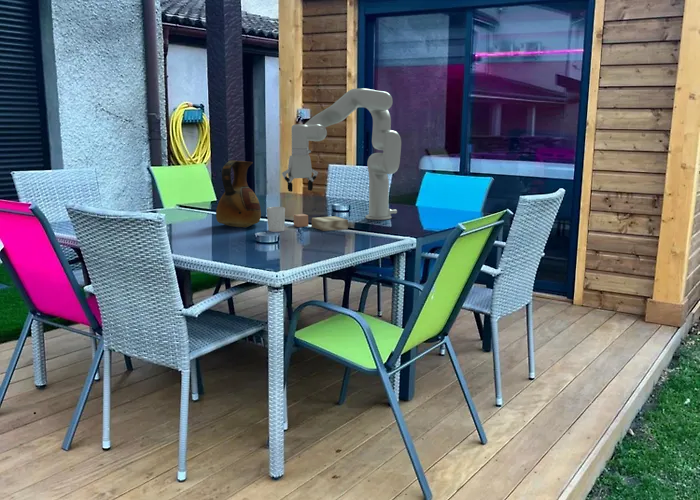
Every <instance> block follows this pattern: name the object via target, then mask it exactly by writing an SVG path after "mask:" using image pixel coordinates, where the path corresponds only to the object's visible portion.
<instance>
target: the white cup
mask: <svg viewBox="0 0 700 500" xmlns="http://www.w3.org/2000/svg"><path fill="white" fill-rule="evenodd" d="M266 214H267V215H266V216H267V218H266V219H267V225H268V226H267V229H268V232H273V233H275V232H276V233H278V232H284V231H285V222H286V221H285V220H286V207H283V206H269V207H267V208H266Z"/></svg>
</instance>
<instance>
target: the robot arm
mask: <svg viewBox="0 0 700 500" xmlns="http://www.w3.org/2000/svg"><path fill="white" fill-rule="evenodd" d="M393 100H394V99H393V97H392V95H391V94H390V93H389V92H387V91H383V90H375V89H370V88H364V87H363V88H351V89H349V90H348V91H347V92H345V93H344V94H343V95H342V96H341V97H339V99H337V100H336V101H334V103H332V105H330V106H329V107H327V108H325V109H323V110H322V111H320V112H319V113H317V114H315V115H314V116H313V117H311V118H310V119H309V120H307V121H306V122H305V123H304V124H300V123H299V124H292V126H291V155H289V157H288V158H289V159H288V164H287V169H286V170H284V171H283V172H281V176H282V177H283V180H284V181H285V182H287V190H288V192H289V193H292V192H293V187H294V186H293V185H294V184H293V181H294V179H307V180H308V181H307V190H308V191H310V192H311V191H313V187H314V181H315V180H316V178H317V177H318V174H319V171H317V170H316V169H314V168H312V161H311V160H312V159H311V156H310V154H311V153H312V150H311V149H309V141H311V142H322V141H323V140H325V138H326V137H327V135H328V132H327V129H326V128H327V127H329V126H332V125H335V124H338V123H341V122H343V121H344V120H345V119H346V118H348V117H349V116H350V115H351V114H352V113H353V112H355V110H357V109H358V108H364V109H367V110H368V111H369V113H370V114H371V117H372V135H371V144H372V147H373V148H374V150H378V151H382V152H375V153H372V154H370V156H368V158H367V171H368V184H369V185H368V214H366V215H365V219H367V220H375V221H377V220H378V221H380V220H385V221H386V220H390V219H392V214H397V213H398V210H397V209H391V208H389V198H390V197H389V194H390V193H389V191H390V189H389V187H390V181H389V176H388V175H392V174H395V173H396V172H398V169H399V168H400V163H401V153H402V152H401V151H402V137H401V136H400V134H399V133H398V132H397V131H396V130H392V129H391V128H392V127H391V125H392V118H391V113H390V112H389V110H390V108H392V106H393ZM312 173H313V174H312Z"/></svg>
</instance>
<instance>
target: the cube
mask: <svg viewBox="0 0 700 500" xmlns="http://www.w3.org/2000/svg"><path fill="white" fill-rule="evenodd" d="M293 226H294V227H297V228H301V227H309V215H308V214H305V213H299V214H293Z"/></svg>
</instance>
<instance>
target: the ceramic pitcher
mask: <svg viewBox="0 0 700 500" xmlns="http://www.w3.org/2000/svg"><path fill="white" fill-rule="evenodd" d="M252 164H253V161H247V160H246V161H245V160H244V161H243V160H234V159H231V160H228V162H226V163H225V164H224V165H223V167H222V169H221V181H222V185H223V188H224V192H223V193H222V195H221V196H220V199H219V200H218V203H217V206H216V208H215V209H216V210H215V218H216V221H217V223H219V224H222V225H224V226H229V227H236V228H248V227H250V226H252V225H255V224H258V223H259V222H260V221H261V217H262V211H261V210H262V209H261V204H260V200H259V198H258V197H257V195H256V193H255V191H253V189H252V188H250V187H249V185H248V182H247V181H248V180H247V176H248V175H247V174H248V169H249V167H250V166H251V165H252ZM232 170H233V181H232V175H231V174H232V173H231V172H232Z"/></svg>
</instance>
